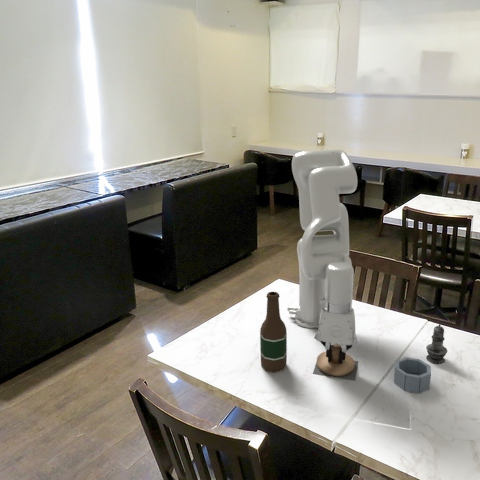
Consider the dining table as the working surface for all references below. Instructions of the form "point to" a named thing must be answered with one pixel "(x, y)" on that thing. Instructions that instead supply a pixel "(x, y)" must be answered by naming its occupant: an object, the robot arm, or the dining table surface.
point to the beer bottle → (273, 337)
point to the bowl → (412, 375)
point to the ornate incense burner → (437, 347)
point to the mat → (349, 376)
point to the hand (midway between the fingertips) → (335, 359)
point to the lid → (335, 362)
